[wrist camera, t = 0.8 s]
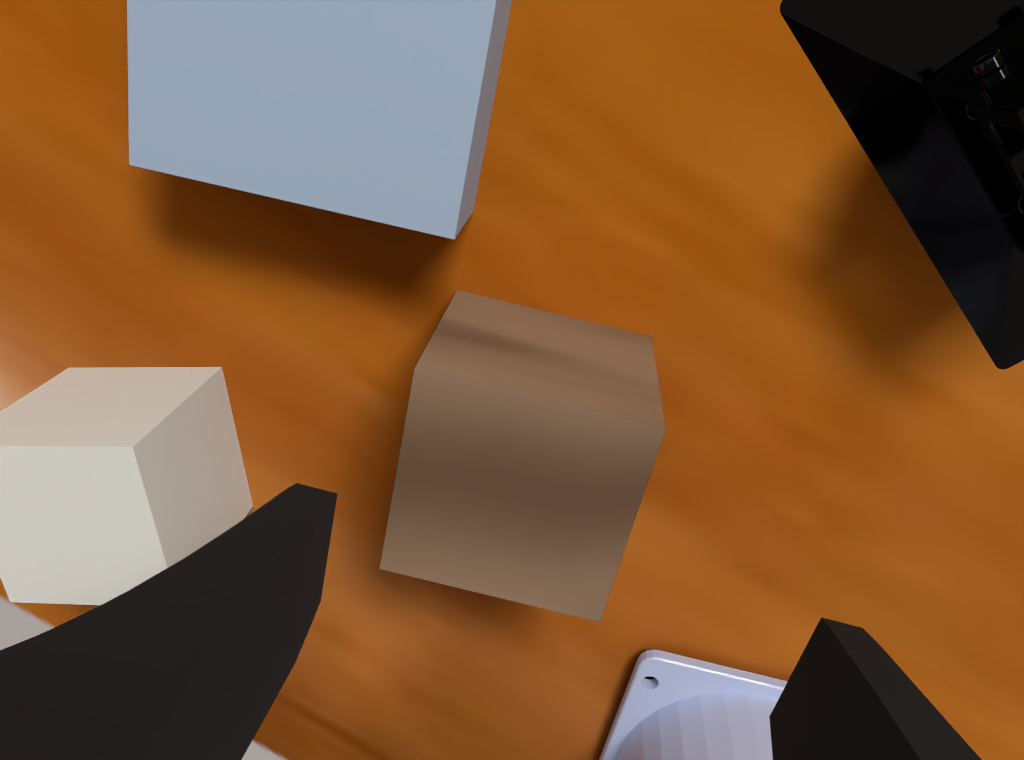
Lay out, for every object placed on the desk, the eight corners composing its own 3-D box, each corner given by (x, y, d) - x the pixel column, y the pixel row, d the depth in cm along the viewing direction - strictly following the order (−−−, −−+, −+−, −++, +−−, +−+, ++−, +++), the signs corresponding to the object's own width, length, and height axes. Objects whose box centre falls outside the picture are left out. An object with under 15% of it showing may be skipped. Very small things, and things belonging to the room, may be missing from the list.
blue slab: (475, 208, 19) (454, 239, 16) (196, 144, 19) (129, 164, 16) (536, -125, 16) (523, -156, 13) (205, -200, 16) (124, -245, 13)
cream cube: (254, 504, 23) (178, 607, 19) (112, 502, 24) (10, 602, 19) (223, 365, 21) (132, 447, 17) (70, 366, 22) (-53, 445, 18)
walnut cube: (599, 497, 22) (599, 622, 17) (425, 455, 22) (379, 569, 17) (651, 335, 19) (665, 429, 15) (458, 289, 20) (414, 368, 15)
